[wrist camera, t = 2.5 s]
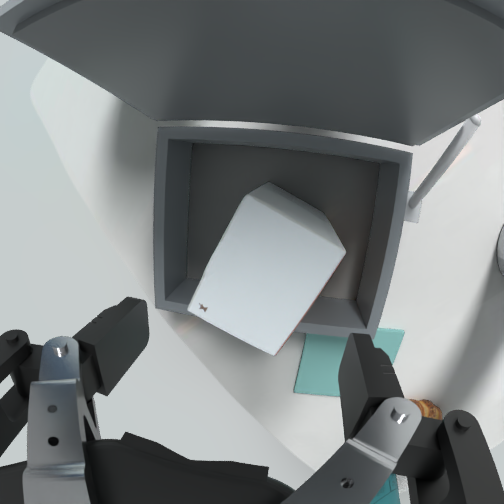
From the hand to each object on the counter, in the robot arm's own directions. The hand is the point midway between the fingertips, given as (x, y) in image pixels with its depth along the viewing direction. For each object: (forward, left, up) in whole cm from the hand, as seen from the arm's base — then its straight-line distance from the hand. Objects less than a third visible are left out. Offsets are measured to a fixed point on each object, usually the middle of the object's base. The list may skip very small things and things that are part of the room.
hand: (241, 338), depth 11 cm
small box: (0, 0, -19) cm, 19 cm away
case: (-1, -2, -19) cm, 19 cm away
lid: (0, -10, -4) cm, 11 cm away
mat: (-10, +14, -19) cm, 25 cm away
